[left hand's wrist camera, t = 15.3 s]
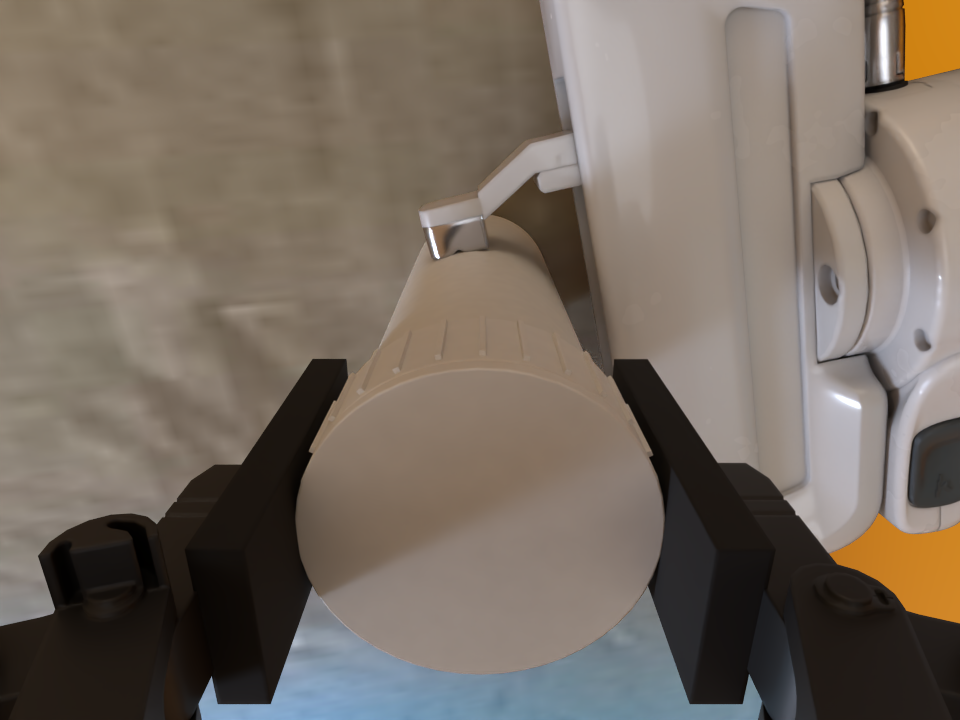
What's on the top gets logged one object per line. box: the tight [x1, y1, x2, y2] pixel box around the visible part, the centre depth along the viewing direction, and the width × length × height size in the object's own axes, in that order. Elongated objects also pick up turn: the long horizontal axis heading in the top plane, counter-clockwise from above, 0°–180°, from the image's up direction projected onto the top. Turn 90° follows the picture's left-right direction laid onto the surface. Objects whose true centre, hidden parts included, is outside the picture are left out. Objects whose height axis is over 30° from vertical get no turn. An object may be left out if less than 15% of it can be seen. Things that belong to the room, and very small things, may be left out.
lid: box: [295, 316, 665, 674], centre depth 11 cm, size 6×6×2 cm
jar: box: [378, 215, 584, 353], centre depth 18 cm, size 5×5×16 cm
